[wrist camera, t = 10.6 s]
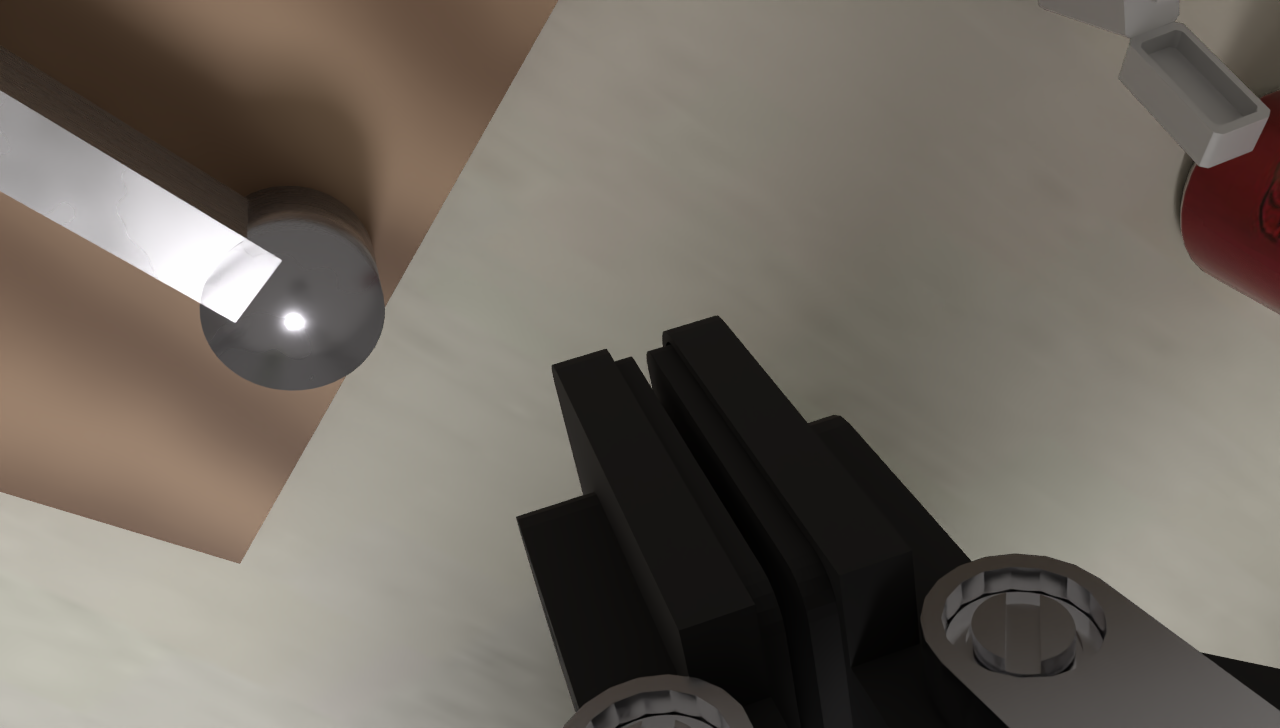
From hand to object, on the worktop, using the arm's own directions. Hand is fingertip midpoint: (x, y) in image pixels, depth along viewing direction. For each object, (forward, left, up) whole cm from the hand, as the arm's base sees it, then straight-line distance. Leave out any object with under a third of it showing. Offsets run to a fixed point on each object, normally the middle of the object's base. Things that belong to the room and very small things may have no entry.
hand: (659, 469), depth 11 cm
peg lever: (-6, +6, -21) cm, 23 cm away
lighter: (+11, -17, -23) cm, 31 cm away
